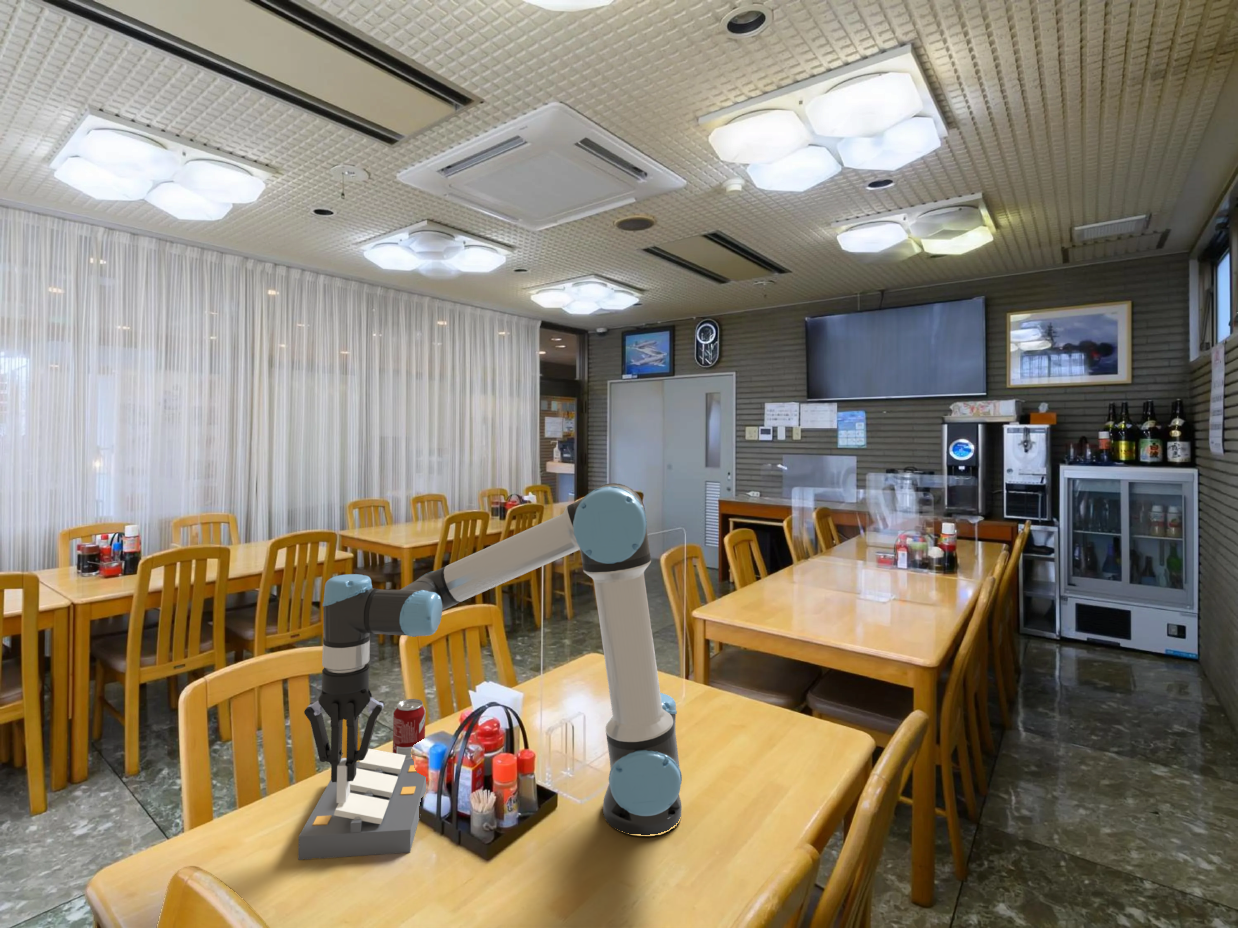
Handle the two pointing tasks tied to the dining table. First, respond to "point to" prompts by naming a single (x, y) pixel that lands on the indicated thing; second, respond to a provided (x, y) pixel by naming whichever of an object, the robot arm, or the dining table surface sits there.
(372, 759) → the far switch
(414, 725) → the soda can
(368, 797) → the near switch
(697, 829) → the dining table surface
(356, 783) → the middle switch
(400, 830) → the switch unit
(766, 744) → the dining table surface
